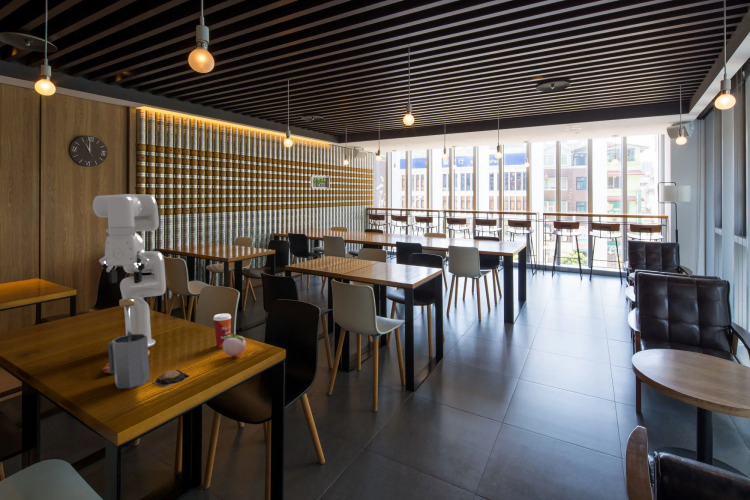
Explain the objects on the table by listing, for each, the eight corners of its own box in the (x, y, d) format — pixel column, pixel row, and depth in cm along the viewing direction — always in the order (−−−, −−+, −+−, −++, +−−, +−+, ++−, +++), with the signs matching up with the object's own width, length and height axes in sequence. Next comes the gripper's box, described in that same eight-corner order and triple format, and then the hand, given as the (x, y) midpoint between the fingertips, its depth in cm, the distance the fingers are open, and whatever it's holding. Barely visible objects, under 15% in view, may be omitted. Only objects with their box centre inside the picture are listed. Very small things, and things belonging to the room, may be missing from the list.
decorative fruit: (219, 361, 156) (218, 337, 155) (225, 354, 165) (224, 331, 164) (243, 360, 157) (242, 336, 156) (248, 353, 165) (247, 330, 164)
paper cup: (226, 349, 170) (224, 318, 169) (210, 347, 172) (209, 317, 170) (236, 343, 178) (234, 313, 176) (221, 342, 179) (219, 312, 178)
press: (102, 388, 133) (99, 343, 131) (121, 376, 143) (118, 334, 141) (138, 388, 133) (135, 343, 131) (154, 376, 143) (151, 334, 141)
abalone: (163, 389, 133) (163, 379, 133) (150, 383, 138) (150, 373, 138) (192, 378, 142) (192, 368, 142) (179, 373, 147) (179, 363, 146)
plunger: (112, 354, 133) (108, 302, 131) (126, 346, 141) (123, 297, 139) (134, 354, 133) (130, 302, 131) (147, 346, 141) (144, 297, 139)
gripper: (88, 233, 129) (92, 285, 131) (141, 232, 129) (144, 284, 131) (104, 231, 136) (108, 280, 138) (153, 231, 136) (157, 280, 138)
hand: (125, 282), depth 134 cm, fingers open, 7 cm apart
